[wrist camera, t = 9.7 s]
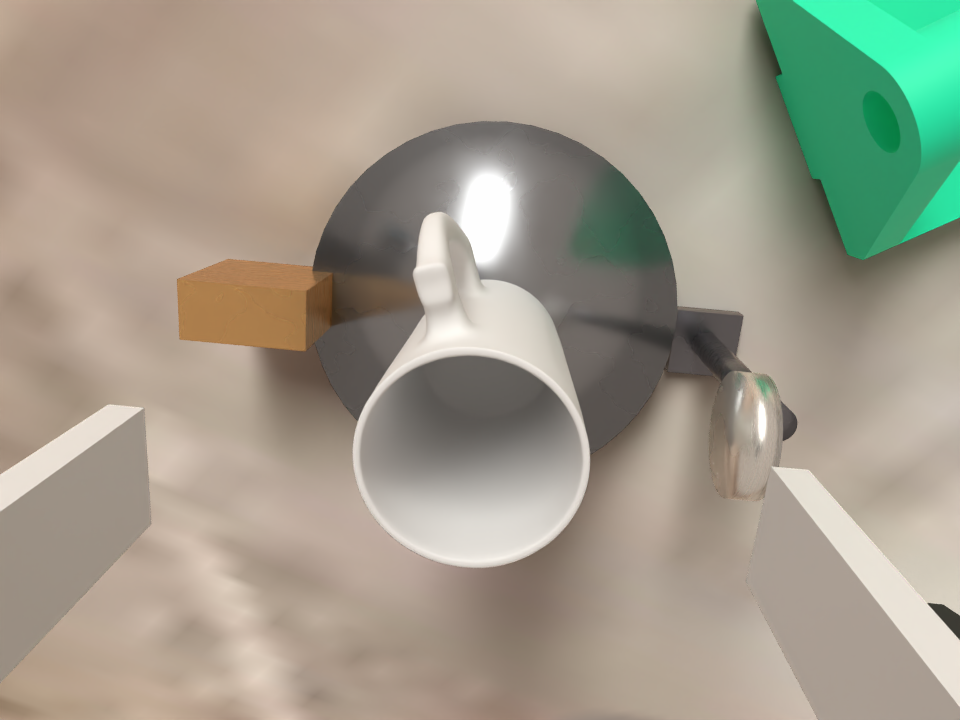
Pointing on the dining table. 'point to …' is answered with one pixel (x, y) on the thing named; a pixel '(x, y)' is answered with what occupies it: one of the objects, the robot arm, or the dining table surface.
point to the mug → (472, 419)
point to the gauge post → (732, 402)
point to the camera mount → (874, 110)
